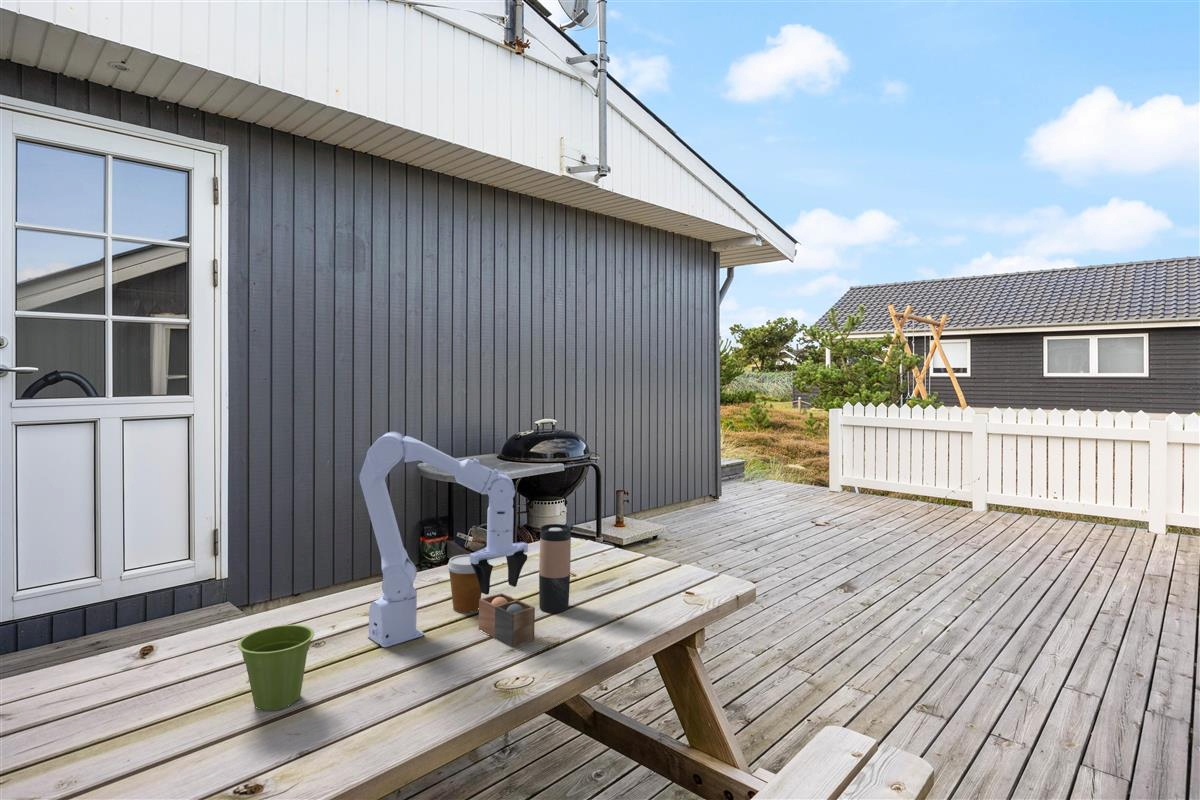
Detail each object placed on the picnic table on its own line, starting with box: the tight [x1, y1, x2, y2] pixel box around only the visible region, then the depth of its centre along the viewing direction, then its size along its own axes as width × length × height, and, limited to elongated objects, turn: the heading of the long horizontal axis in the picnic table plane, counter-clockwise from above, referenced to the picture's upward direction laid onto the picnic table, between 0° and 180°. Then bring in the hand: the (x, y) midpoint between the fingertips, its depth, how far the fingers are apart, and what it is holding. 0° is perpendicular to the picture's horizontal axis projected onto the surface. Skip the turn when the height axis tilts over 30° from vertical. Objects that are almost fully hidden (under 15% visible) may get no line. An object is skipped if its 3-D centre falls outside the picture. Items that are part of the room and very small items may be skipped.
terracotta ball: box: [491, 597, 508, 606], centre depth 144 cm, size 4×4×4 cm
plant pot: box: [237, 624, 315, 711], centre depth 112 cm, size 12×12×11 cm
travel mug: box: [538, 523, 572, 614], centre depth 159 cm, size 8×8×20 cm
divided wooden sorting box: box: [478, 593, 536, 648], centre depth 143 cm, size 6×12×7 cm, turn 46°
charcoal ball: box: [506, 604, 523, 613], centre depth 140 cm, size 4×4×4 cm
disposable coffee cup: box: [446, 554, 483, 613], centre depth 158 cm, size 10×10×12 cm
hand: (499, 589), depth 144 cm, fingers open, 7 cm apart
